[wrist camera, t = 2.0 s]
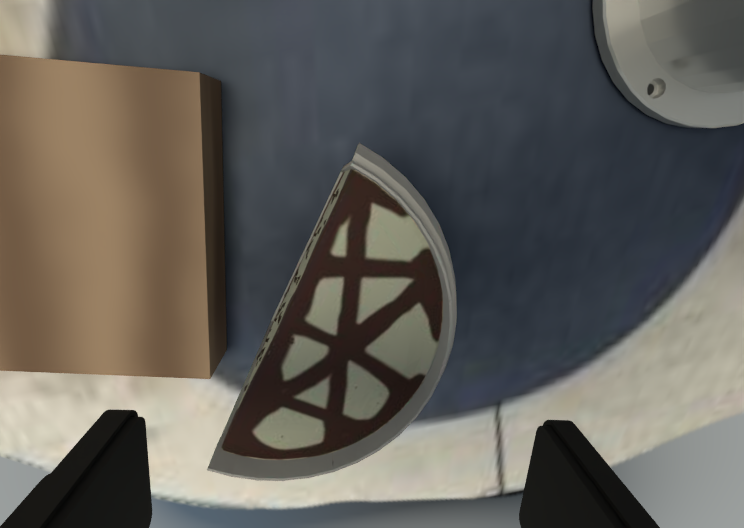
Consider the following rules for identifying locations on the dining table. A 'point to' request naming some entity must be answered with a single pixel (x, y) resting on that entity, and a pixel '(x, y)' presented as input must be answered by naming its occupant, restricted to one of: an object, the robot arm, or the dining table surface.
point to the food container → (348, 334)
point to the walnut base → (110, 220)
